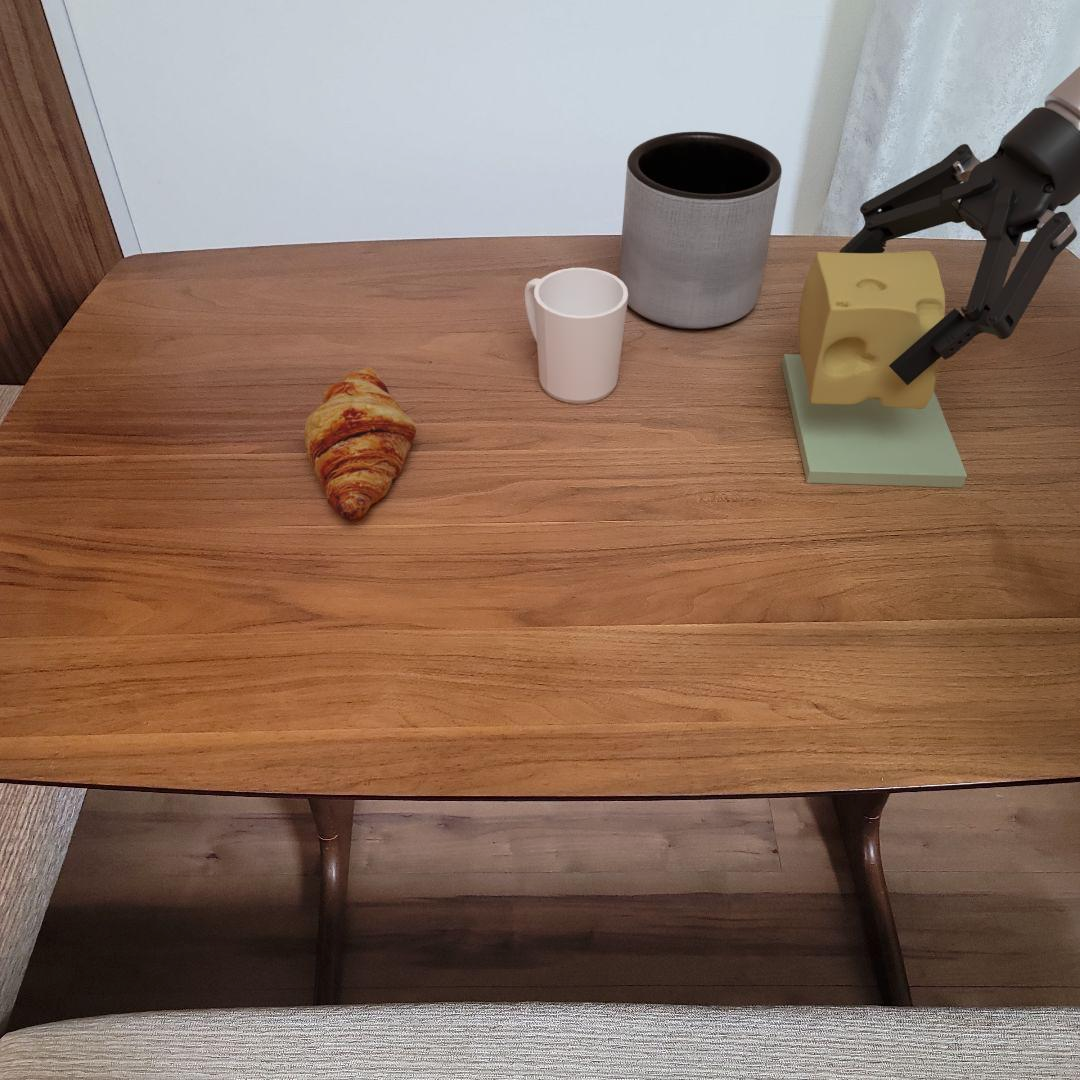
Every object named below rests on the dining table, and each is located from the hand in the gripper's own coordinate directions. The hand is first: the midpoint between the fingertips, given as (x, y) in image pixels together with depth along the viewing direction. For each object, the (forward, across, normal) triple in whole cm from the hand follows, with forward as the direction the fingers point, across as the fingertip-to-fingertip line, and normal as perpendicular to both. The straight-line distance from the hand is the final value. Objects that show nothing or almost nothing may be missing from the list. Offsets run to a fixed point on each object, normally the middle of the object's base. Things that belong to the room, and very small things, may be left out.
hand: (856, 332), depth 81 cm
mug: (+23, +16, +7) cm, 29 cm away
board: (+5, 0, -11) cm, 12 cm away
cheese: (+3, 0, -4) cm, 5 cm away
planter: (+10, +26, -6) cm, 29 cm away
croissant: (+39, +10, +23) cm, 46 cm away
